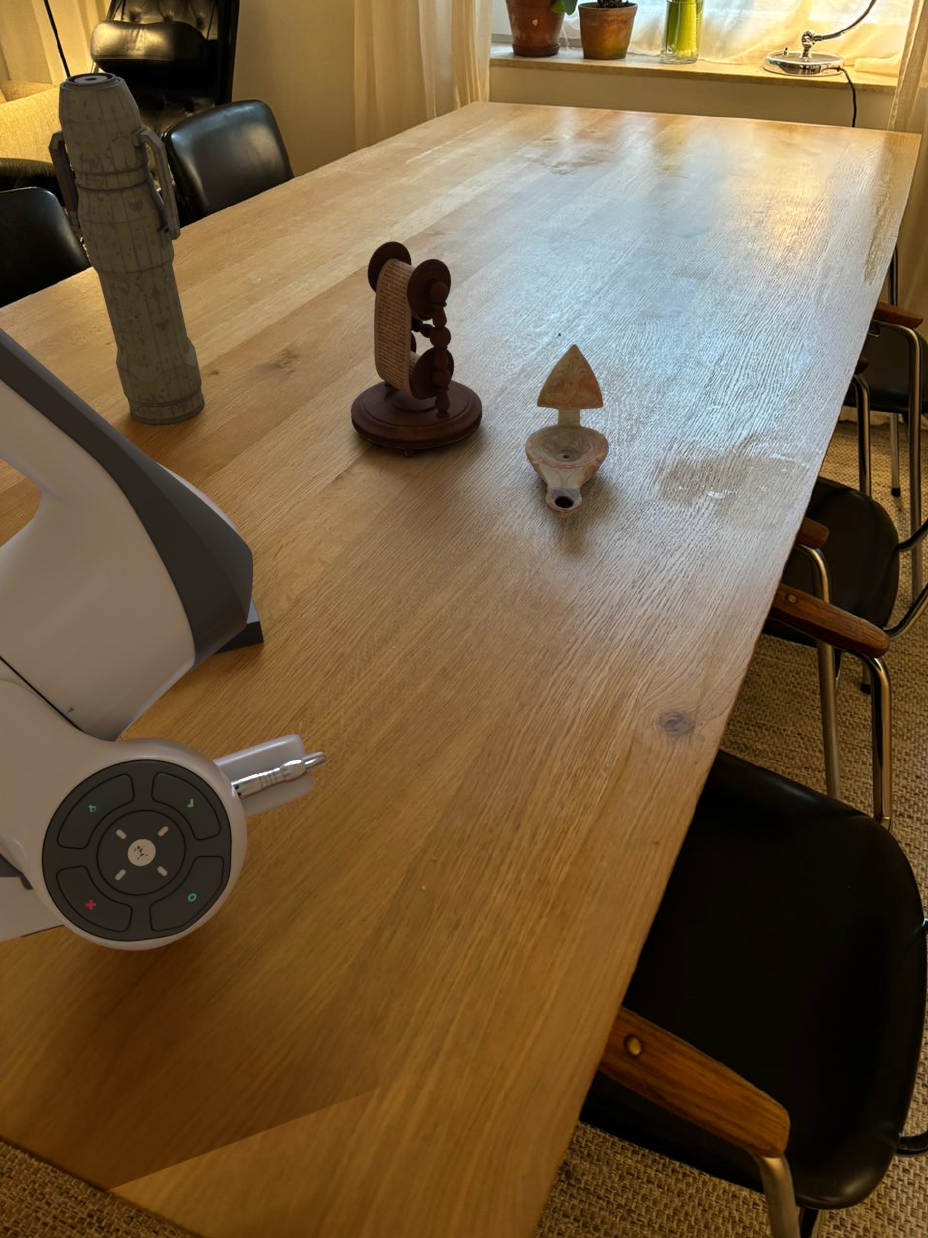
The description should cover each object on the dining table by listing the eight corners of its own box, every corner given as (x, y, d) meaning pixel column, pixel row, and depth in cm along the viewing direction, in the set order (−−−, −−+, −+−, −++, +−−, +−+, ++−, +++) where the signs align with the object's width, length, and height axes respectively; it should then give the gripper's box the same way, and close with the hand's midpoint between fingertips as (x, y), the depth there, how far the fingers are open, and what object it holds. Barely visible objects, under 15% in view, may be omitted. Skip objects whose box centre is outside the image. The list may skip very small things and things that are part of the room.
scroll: (327, 424, 114) (306, 249, 101) (427, 384, 121) (420, 215, 108) (405, 476, 105) (393, 291, 92) (509, 429, 112) (511, 252, 99)
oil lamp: (607, 428, 112) (614, 344, 105) (605, 538, 96) (613, 448, 89) (530, 424, 113) (533, 342, 106) (515, 533, 97) (517, 443, 90)
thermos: (130, 388, 121) (47, 67, 99) (225, 389, 121) (163, 66, 98) (106, 424, 115) (11, 89, 92) (206, 425, 114) (136, 88, 91)
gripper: (314, 703, 56) (284, 713, 69) (-78, 836, 49) (-29, 818, 62) (349, 811, 55) (312, 800, 69) (-39, 958, 49) (2, 914, 62)
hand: (148, 809), depth 65 cm, fingers closed on cup, 6 cm apart
